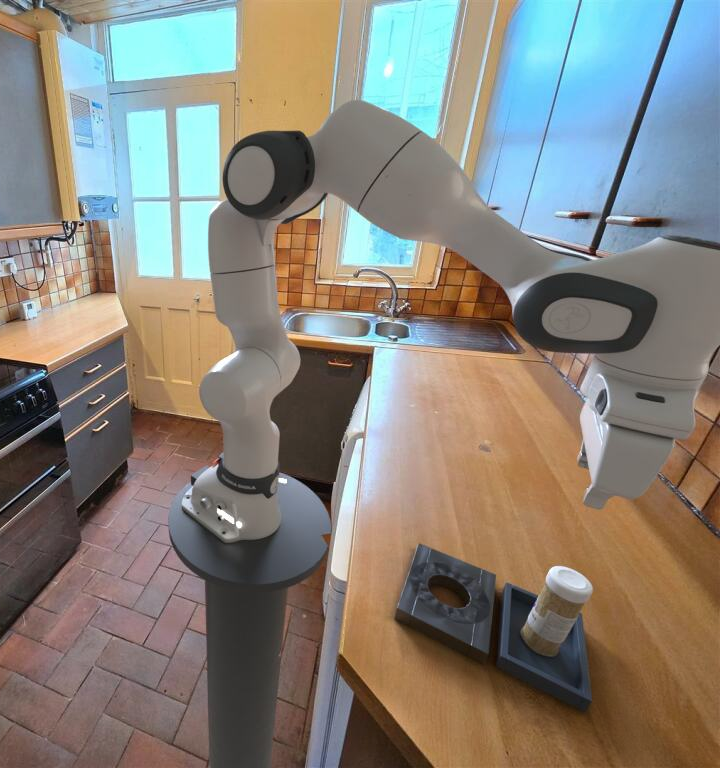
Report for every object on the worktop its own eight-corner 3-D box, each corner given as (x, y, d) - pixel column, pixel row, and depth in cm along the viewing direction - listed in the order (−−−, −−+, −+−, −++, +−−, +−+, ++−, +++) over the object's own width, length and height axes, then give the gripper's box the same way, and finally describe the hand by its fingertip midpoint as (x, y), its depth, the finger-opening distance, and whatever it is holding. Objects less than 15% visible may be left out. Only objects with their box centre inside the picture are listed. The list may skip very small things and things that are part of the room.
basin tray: (495, 666, 57) (500, 655, 56) (501, 592, 68) (506, 581, 67) (584, 712, 52) (592, 701, 51) (576, 624, 63) (582, 613, 61)
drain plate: (394, 618, 64) (397, 607, 63) (415, 552, 75) (418, 542, 74) (483, 665, 57) (488, 654, 56) (492, 585, 69) (496, 574, 68)
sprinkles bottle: (519, 622, 62) (549, 559, 57) (557, 638, 60) (591, 574, 54) (519, 647, 59) (551, 582, 53) (559, 665, 57) (596, 600, 51)
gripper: (590, 355, 56) (554, 440, 61) (609, 414, 41) (559, 519, 47) (654, 365, 52) (610, 454, 58) (701, 434, 37) (634, 544, 43)
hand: (587, 484), depth 52 cm, fingers open, 8 cm apart
